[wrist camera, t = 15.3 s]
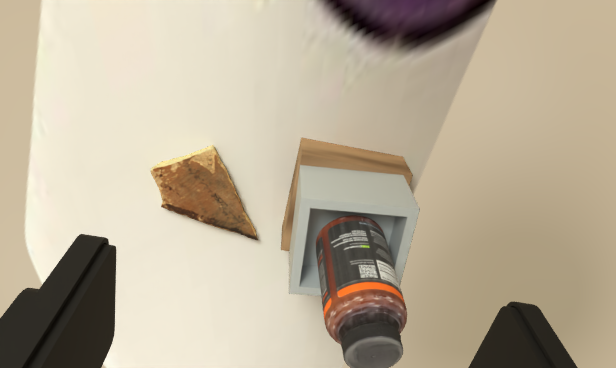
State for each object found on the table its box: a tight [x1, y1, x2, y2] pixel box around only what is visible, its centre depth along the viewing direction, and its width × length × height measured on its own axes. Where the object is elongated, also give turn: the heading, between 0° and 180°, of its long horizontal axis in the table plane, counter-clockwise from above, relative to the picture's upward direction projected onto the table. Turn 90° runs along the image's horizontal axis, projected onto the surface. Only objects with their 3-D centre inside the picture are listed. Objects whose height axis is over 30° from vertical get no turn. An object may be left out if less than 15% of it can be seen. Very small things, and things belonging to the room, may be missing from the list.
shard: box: [151, 145, 258, 240], centre depth 46 cm, size 11×8×2 cm
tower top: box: [289, 165, 420, 296], centre depth 40 cm, size 9×9×6 cm
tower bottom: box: [281, 138, 413, 251], centre depth 45 cm, size 10×10×4 cm
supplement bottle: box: [316, 215, 407, 368], centre depth 35 cm, size 6×6×11 cm
